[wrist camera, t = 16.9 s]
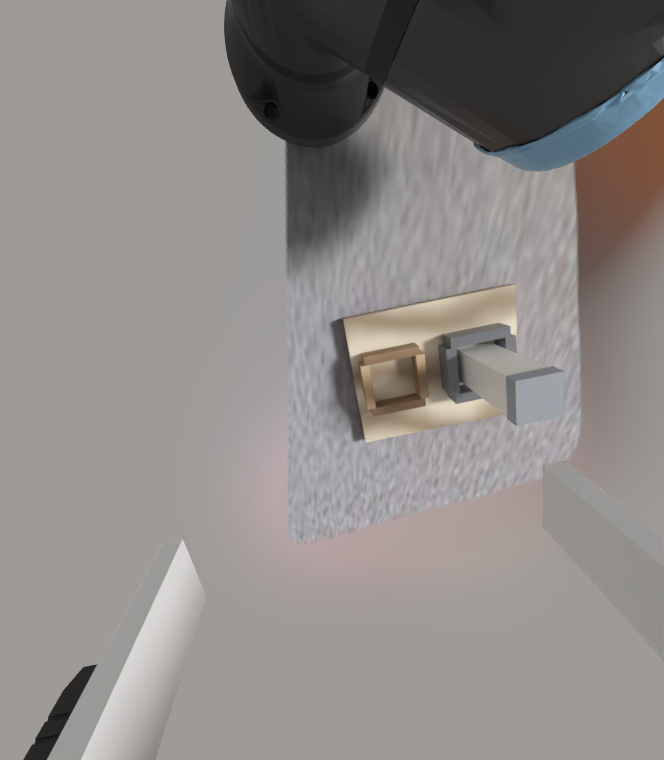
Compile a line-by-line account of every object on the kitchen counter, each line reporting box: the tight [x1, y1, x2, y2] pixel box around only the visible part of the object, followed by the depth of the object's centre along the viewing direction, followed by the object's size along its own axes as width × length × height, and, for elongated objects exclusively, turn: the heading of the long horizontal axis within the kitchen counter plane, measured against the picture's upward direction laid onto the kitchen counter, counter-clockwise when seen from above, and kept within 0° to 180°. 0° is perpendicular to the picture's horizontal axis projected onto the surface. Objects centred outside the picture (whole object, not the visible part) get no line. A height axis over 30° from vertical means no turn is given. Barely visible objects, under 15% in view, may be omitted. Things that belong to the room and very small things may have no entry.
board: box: [343, 284, 517, 442], centre depth 43 cm, size 16×20×1 cm
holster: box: [358, 343, 429, 417], centre depth 41 cm, size 7×7×2 cm
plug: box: [457, 341, 564, 426], centre depth 36 cm, size 4×4×13 cm
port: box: [438, 323, 516, 404], centre depth 41 cm, size 10×8×2 cm
